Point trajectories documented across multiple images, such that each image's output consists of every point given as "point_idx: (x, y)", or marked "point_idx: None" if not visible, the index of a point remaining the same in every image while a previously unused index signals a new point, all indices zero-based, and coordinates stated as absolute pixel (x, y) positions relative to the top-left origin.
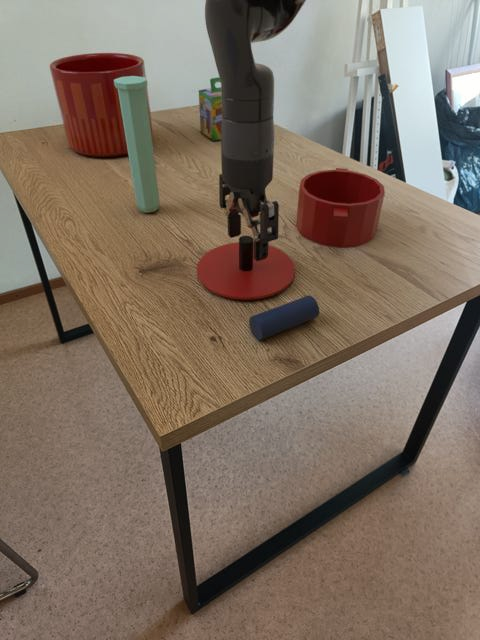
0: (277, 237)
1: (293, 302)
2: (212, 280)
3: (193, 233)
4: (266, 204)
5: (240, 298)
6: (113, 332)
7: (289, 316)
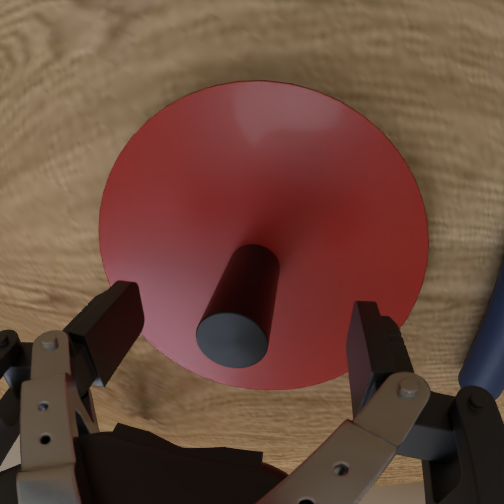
0: (492, 402)
1: None
2: (264, 372)
3: (27, 268)
4: None
5: None
6: None
7: None
